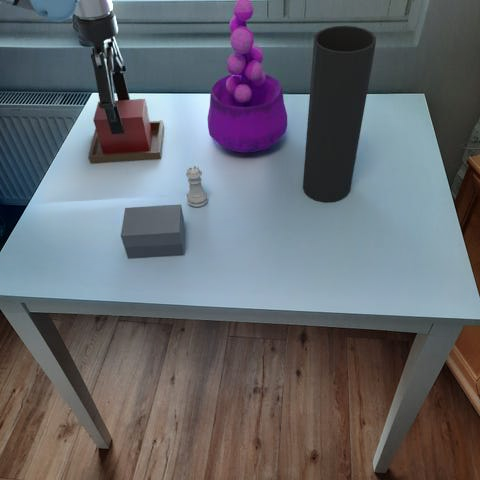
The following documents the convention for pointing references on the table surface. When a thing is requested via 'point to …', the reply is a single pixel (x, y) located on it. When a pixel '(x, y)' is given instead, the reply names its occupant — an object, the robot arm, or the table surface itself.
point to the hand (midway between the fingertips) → (121, 116)
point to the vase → (336, 109)
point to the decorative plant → (246, 94)
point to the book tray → (153, 154)
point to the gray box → (153, 231)
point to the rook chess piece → (196, 188)
